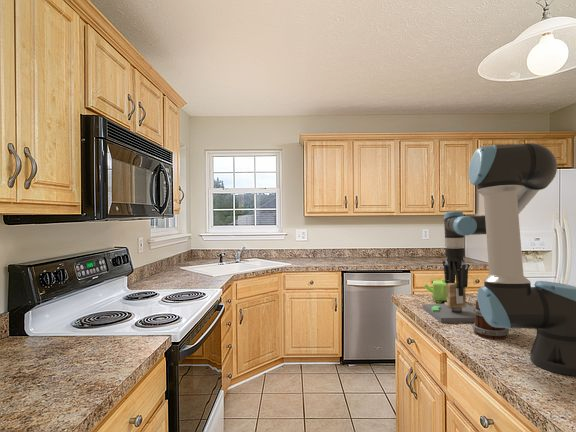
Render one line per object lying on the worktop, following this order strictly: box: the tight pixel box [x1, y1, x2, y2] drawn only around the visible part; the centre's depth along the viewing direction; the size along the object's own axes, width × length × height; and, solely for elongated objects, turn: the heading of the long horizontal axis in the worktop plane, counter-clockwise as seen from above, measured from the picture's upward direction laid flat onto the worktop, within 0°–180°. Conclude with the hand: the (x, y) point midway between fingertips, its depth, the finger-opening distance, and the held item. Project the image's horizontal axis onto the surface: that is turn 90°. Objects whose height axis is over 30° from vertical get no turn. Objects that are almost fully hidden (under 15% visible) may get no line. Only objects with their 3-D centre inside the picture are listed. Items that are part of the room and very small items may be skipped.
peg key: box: [444, 282, 467, 313], centre depth 153 cm, size 11×7×12 cm, turn 5°
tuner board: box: [422, 303, 475, 324], centre depth 151 cm, size 22×20×3 cm
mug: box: [471, 299, 510, 340], centre depth 127 cm, size 12×14×15 cm
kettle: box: [423, 278, 457, 304], centre depth 174 cm, size 15×14×11 cm
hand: (456, 302), depth 149 cm, fingers closed on peg key, 3 cm apart
